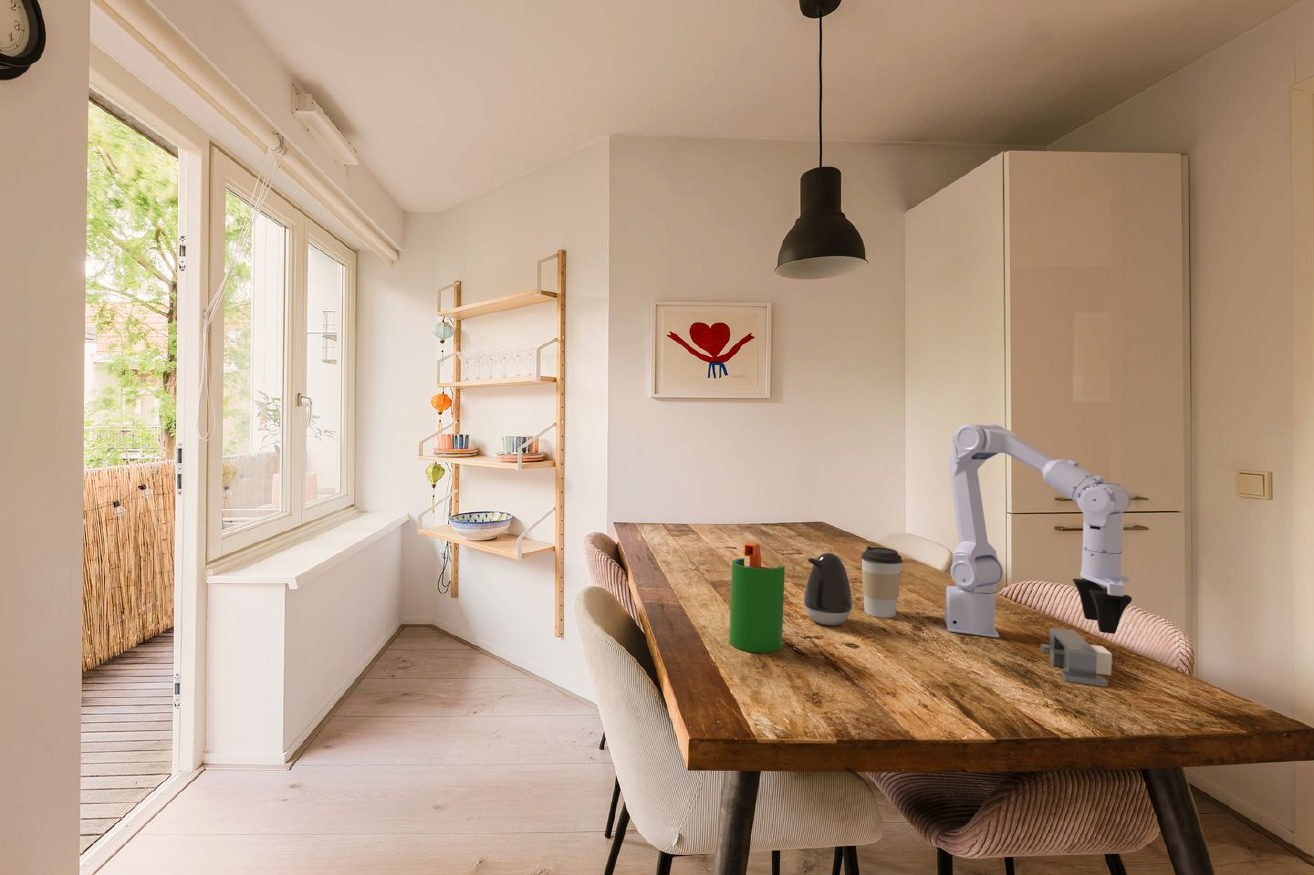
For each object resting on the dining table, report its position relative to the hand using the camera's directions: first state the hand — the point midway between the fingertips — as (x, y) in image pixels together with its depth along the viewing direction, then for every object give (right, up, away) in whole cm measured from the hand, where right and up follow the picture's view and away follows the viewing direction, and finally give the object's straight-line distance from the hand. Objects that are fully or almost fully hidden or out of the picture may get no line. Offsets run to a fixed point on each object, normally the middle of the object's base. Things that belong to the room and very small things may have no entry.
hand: (1099, 625), depth 105 cm
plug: (-3, -8, +1) cm, 9 cm away
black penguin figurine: (-42, -7, +23) cm, 49 cm away
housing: (-4, -8, +2) cm, 9 cm away
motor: (-60, -7, +9) cm, 62 cm away
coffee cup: (-28, -7, +31) cm, 42 cm away
